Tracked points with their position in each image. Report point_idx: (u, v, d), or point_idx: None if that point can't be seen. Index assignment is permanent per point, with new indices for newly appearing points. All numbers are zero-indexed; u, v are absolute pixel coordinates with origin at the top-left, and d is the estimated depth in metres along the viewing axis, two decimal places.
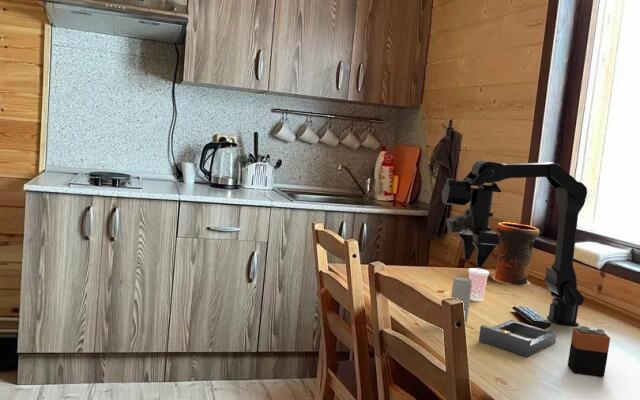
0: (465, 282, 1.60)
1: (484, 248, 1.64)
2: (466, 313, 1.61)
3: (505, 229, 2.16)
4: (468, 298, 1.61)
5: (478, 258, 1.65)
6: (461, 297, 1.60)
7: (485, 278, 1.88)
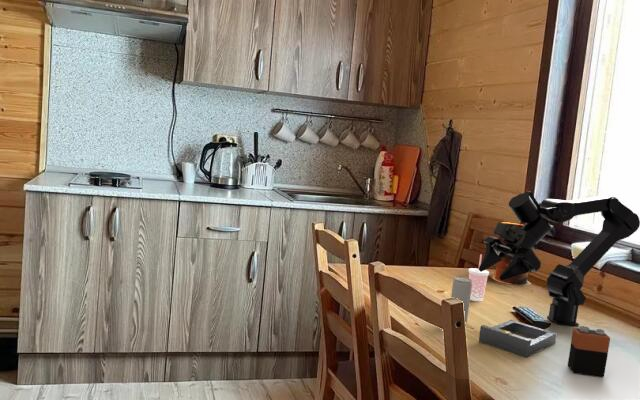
0: (465, 282, 1.60)
1: (518, 267, 1.60)
2: (466, 313, 1.61)
3: None
4: (468, 298, 1.61)
5: (507, 270, 1.60)
6: (461, 297, 1.60)
7: (485, 278, 1.88)
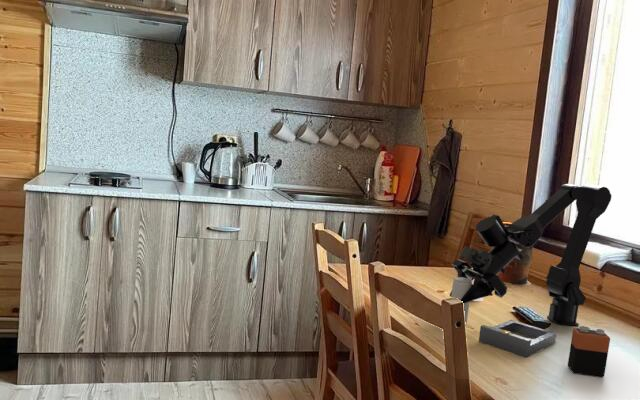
0: (465, 282, 1.60)
1: (479, 290, 1.60)
2: (466, 313, 1.61)
3: None
4: None
5: (468, 293, 1.59)
6: (461, 297, 1.60)
7: None
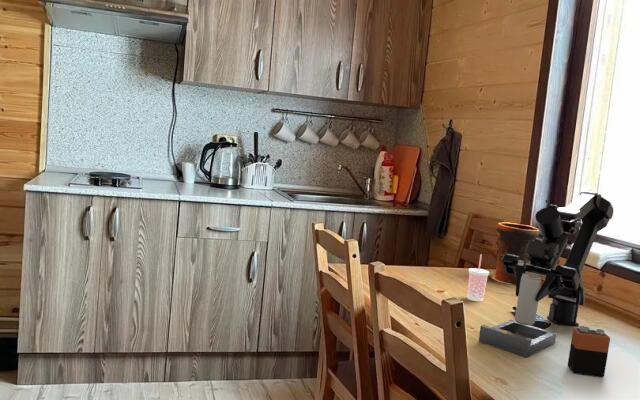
0: (539, 279, 1.52)
1: (549, 285, 1.53)
2: (536, 311, 1.54)
3: (505, 229, 2.16)
4: None
5: (543, 290, 1.52)
6: (535, 296, 1.52)
7: (485, 278, 1.88)
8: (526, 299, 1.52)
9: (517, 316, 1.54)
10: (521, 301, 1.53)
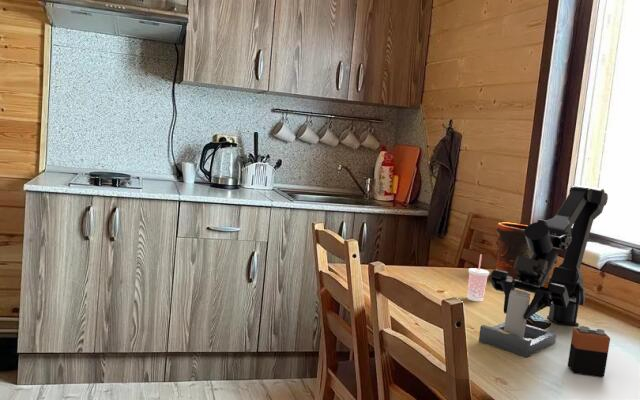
0: (527, 296, 1.48)
1: (538, 302, 1.50)
2: None
3: (505, 229, 2.16)
4: None
5: (531, 308, 1.48)
6: (524, 313, 1.48)
7: (485, 278, 1.88)
8: (514, 317, 1.48)
9: None
10: (509, 318, 1.49)
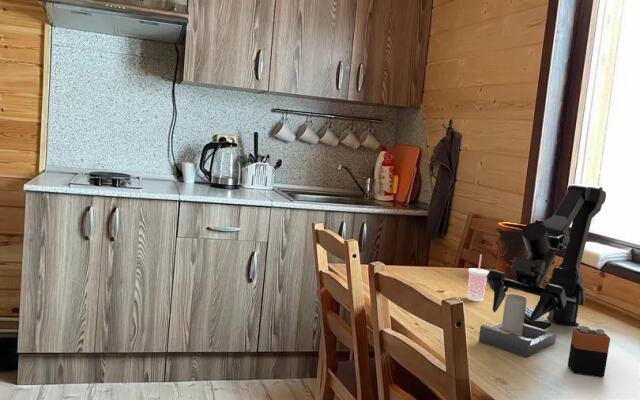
0: (523, 300, 1.47)
1: (544, 305, 1.47)
2: (521, 333, 1.49)
3: (505, 229, 2.16)
4: None
5: (537, 311, 1.45)
6: (520, 317, 1.47)
7: (485, 278, 1.88)
8: (511, 321, 1.47)
9: None
10: (506, 323, 1.48)
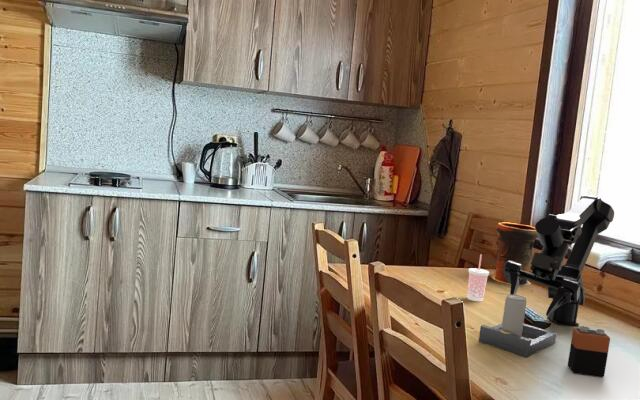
0: (523, 300, 1.47)
1: (559, 299, 1.54)
2: (521, 333, 1.49)
3: (505, 229, 2.16)
4: None
5: (553, 305, 1.53)
6: (520, 318, 1.47)
7: (485, 278, 1.88)
8: (511, 321, 1.47)
9: None
10: (506, 323, 1.48)
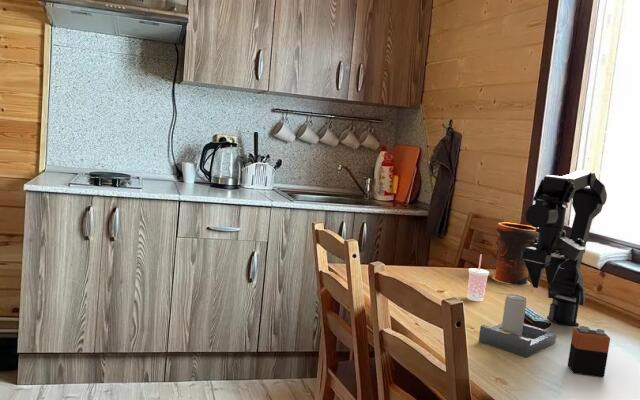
0: (523, 300, 1.47)
1: None
2: (521, 333, 1.49)
3: (505, 229, 2.16)
4: None
5: None
6: (520, 318, 1.47)
7: (485, 278, 1.88)
8: (511, 321, 1.47)
9: None
10: (506, 323, 1.48)
